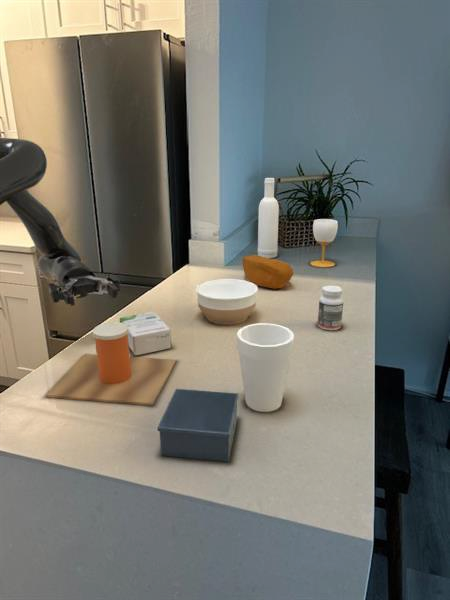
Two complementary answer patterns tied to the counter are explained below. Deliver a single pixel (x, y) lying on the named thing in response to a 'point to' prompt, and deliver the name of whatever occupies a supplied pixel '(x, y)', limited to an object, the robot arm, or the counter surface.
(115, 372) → the tub
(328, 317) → the pill bottle
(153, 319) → the ink box
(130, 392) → the cutting board
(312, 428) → the counter surface
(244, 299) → the bowl
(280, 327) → the foam cup
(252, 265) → the bread
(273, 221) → the bottle
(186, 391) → the tin
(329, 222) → the cup
